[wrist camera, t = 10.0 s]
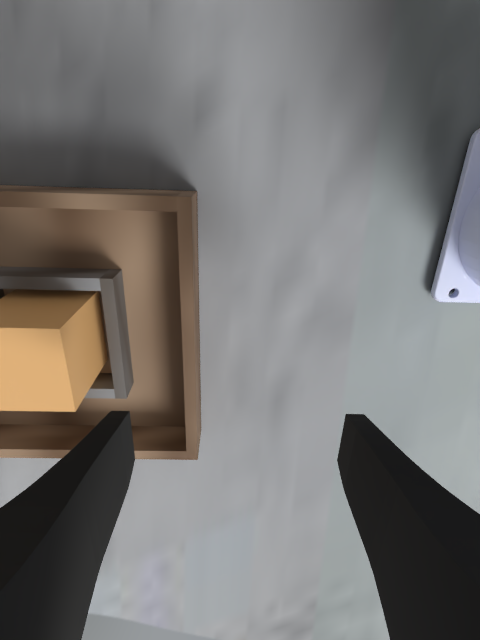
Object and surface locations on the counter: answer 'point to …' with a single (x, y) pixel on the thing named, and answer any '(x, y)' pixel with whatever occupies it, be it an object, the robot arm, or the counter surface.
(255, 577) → the counter surface
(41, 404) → the plug
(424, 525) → the robot arm
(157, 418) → the box
